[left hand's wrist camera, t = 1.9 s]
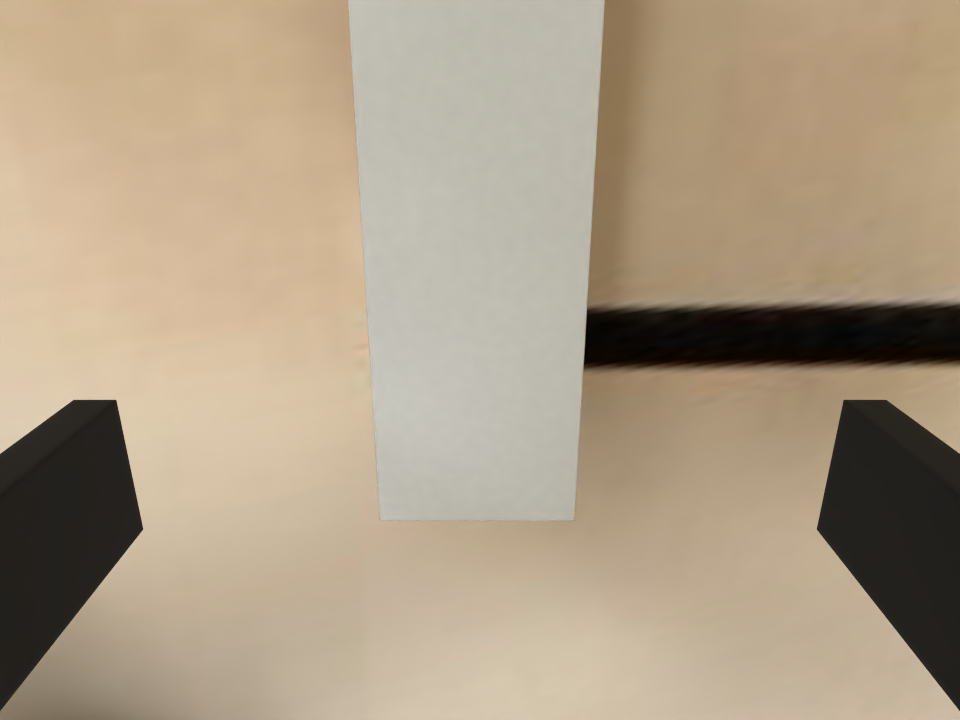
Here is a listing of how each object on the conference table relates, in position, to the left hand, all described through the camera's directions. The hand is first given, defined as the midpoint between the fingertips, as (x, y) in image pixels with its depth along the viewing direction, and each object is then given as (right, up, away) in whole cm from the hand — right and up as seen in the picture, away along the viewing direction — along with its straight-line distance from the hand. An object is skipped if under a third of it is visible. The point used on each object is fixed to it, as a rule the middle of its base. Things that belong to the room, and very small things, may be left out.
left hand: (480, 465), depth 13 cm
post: (0, +36, +1) cm, 36 cm away
